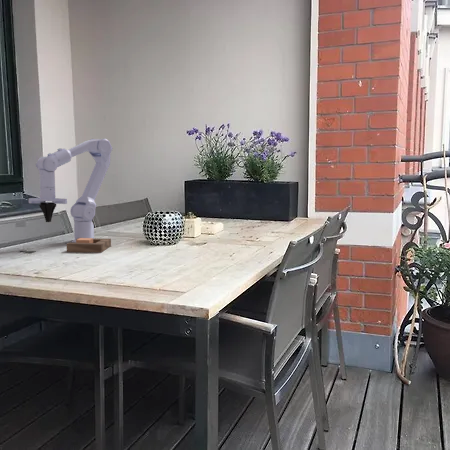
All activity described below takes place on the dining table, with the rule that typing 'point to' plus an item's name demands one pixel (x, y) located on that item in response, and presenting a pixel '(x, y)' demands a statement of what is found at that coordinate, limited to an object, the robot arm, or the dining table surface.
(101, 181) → the robot arm
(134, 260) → the dining table surface
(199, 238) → the dining table surface
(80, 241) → the key block
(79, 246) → the tray
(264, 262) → the dining table surface
